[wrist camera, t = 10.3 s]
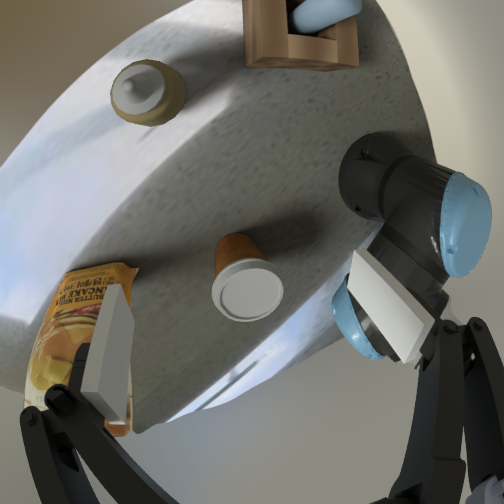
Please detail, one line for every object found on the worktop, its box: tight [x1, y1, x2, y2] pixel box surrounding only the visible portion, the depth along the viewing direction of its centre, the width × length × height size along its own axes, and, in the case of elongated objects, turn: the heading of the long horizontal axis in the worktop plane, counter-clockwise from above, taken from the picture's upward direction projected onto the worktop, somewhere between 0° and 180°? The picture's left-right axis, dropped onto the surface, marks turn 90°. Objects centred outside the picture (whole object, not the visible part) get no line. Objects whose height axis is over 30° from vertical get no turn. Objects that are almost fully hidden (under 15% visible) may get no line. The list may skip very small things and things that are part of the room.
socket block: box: [242, 0, 359, 72], centre depth 25 cm, size 12×12×9 cm
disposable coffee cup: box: [212, 233, 284, 322], centre depth 40 cm, size 10×10×12 cm
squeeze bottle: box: [110, 59, 186, 127], centre depth 23 cm, size 8×8×18 cm
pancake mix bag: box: [23, 262, 139, 437], centre depth 30 cm, size 7×19×28 cm, turn 95°
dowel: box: [287, 0, 362, 36], centre depth 21 cm, size 4×4×14 cm
